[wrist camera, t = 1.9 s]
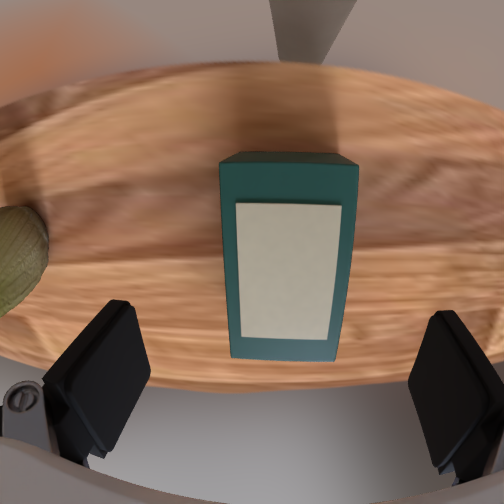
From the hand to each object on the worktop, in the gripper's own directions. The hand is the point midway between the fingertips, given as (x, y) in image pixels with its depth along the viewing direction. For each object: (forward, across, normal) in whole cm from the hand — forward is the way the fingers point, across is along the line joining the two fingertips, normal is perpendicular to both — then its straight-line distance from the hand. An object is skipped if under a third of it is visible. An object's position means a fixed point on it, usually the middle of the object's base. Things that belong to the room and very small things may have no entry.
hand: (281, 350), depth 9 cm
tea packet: (+8, 0, -1) cm, 8 cm away
